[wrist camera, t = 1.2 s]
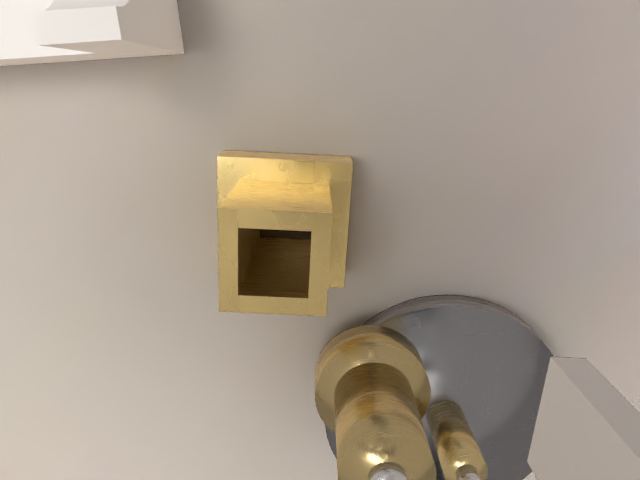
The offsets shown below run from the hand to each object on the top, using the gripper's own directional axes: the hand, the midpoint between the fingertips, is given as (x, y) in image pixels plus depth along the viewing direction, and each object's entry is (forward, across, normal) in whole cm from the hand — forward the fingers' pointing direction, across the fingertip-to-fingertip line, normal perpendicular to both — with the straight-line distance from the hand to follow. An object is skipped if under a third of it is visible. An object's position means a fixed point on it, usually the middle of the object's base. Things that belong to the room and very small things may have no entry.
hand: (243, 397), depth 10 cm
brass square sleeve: (+14, 0, 0) cm, 14 cm away
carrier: (+14, +9, -10) cm, 20 cm away
